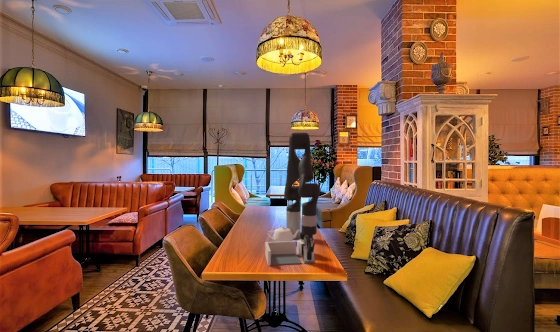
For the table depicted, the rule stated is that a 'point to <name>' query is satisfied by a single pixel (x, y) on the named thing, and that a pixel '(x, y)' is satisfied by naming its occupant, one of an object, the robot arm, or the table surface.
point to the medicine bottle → (301, 245)
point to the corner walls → (279, 249)
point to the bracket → (304, 258)
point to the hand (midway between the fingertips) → (308, 258)
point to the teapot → (282, 234)
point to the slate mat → (284, 259)
